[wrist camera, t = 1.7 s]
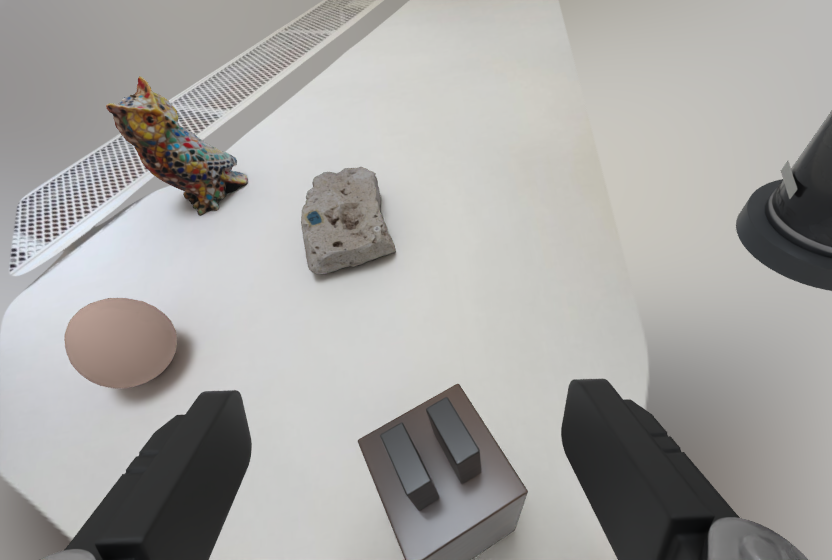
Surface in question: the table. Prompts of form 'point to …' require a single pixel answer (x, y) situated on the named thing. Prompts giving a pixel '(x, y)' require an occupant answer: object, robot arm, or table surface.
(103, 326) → the egg
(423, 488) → the knife block
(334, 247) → the stone
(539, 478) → the table surface
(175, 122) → the figurine
